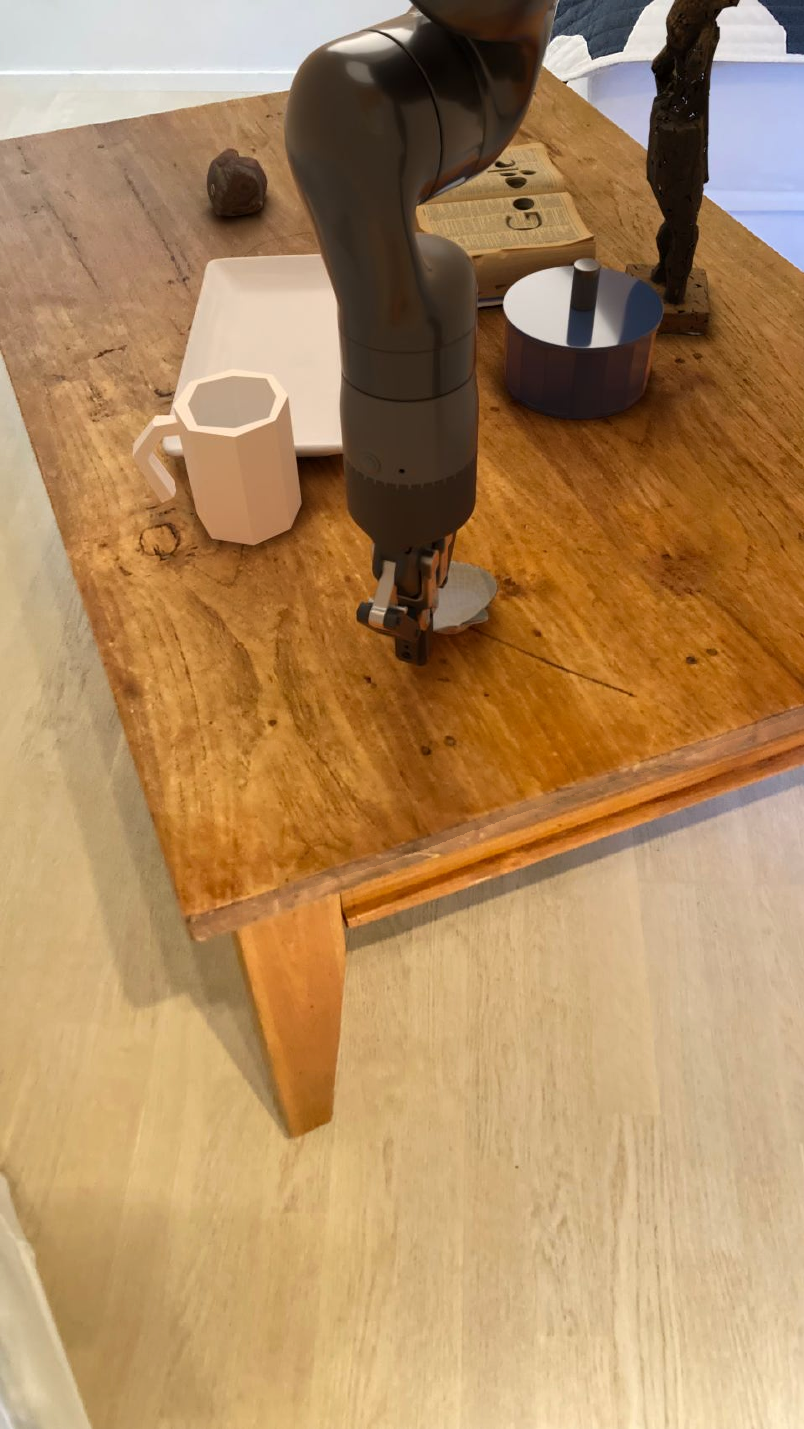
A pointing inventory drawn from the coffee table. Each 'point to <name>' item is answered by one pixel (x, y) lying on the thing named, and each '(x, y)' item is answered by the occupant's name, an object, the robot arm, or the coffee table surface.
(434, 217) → the book
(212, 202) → the dark brown rock
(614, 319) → the pot lid
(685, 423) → the coffee table surface
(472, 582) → the seashell
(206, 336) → the white slab
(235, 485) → the mug
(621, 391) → the pot
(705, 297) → the sculpture
